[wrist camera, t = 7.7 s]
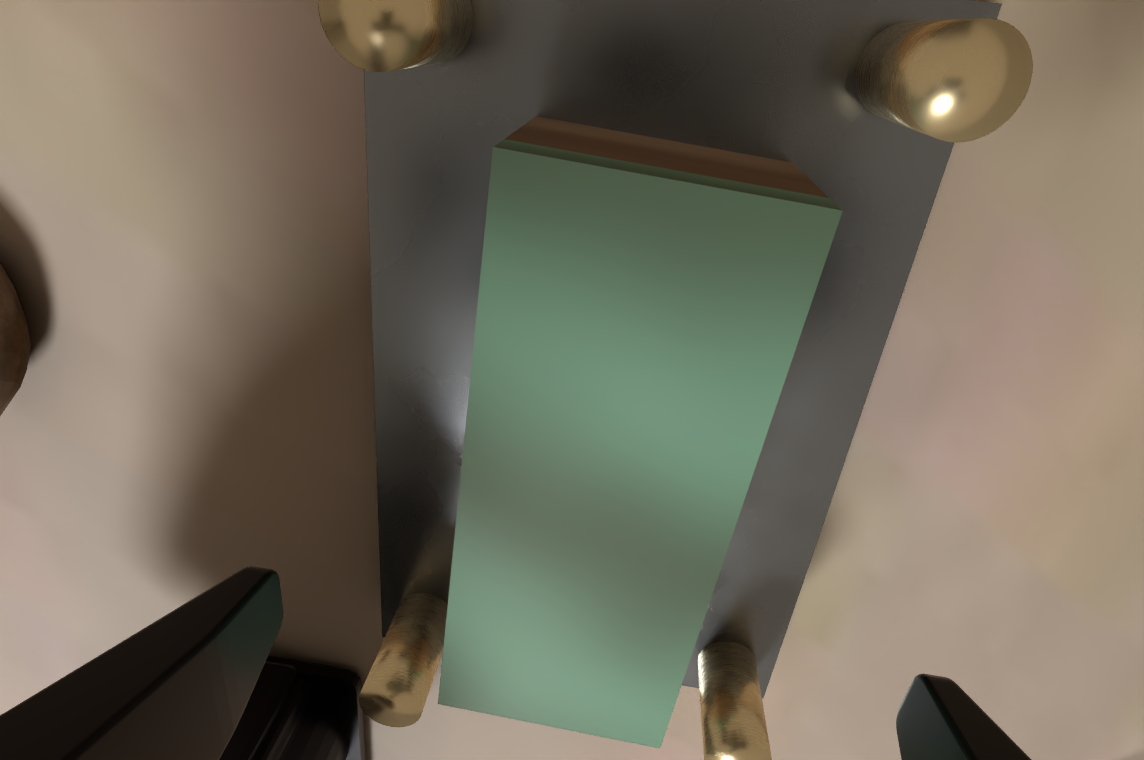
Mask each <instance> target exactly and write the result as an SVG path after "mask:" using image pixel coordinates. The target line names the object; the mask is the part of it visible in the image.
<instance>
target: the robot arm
mask: <svg viewBox="0 0 1144 760" xmlns="http://www.w3.org/2000/svg"><path fill="white" fill-rule="evenodd" d="M282 618H283V606H282V598H281V590H280V581H279V576H278V574H277V572H276V571H274V570H271V569H265V568H259V567H252V566H251V567H246V568H243V569H242V570H240V571H238V572H237V573H235V574H233V575H232V576H230V577H228V578H227V579H225V580H223V581H222V582H220V583H218V584H217V585H215V586H213V587H212V588H210V589H208V590H207V591H205V592H203V593H202V594H200V595H199V596H197V597H195V598H194V599H192V600H190V601H189V602H187V603H185V604H184V605H182V606H180V607H179V608H177V609H175V610H174V611H172V612H170V613H169V614H167V615H166V616H164V617H162V618H161V619H159V620H157V621H156V622H154V623H152V624H151V625H149V626H147V627H146V628H144V629H142V630H141V631H139V632H137V633H136V634H134V635H132V636H131V637H129V638H128V639H126V640H124V641H123V642H121V643H119V644H118V645H116V646H114V647H113V648H111V649H109V650H108V651H106V652H104V653H103V654H101V655H99V656H98V657H96V658H94V659H93V660H91V661H90V662H88V663H86V664H85V665H83V666H81V667H80V668H78V669H76V670H75V671H73V672H71V673H70V674H68V675H66V676H65V677H63V678H61V679H60V680H58V681H56V682H55V683H53V684H52V685H50V686H48V687H47V688H45V689H43V690H42V691H40V692H38V693H37V694H35V695H33V696H32V697H30V698H28V699H27V700H25V701H23V702H22V703H20V704H19V705H17V706H15V707H14V708H12V709H10V710H9V711H7V712H5V713H4V714H2V715H0V760H366V758H365V739H364V721H363V710H362V709H361V707H360V705H359V694H360V692H361V690H362V684H361V679H360V677H359V676H358V675H357V674H356V673H354V672H353V671H350V670H347V669H341V668H335V667H329V666H323V665H317V664H311V663H305V662H299V661H292V660H286V659H280V658H274V657H268V654H269V652H270V650H271V648H272V645H273V643H274V641H275V638H276V636H277V634H278V632H279V629H280V626H281V623H282ZM896 728H897V735H898V741H899V747H900V753H901V759H902V760H1031V759H1030V758H1029V757H1028V756H1027V755H1026V754H1025V753H1024V752H1023V751H1022V750H1021V749H1020V748H1019V747H1018V746H1017V745H1016V744H1015V743H1014V742H1013V741H1012V740H1011V739H1010V738H1009V736H1008V735H1007V734H1006V733H1005V732H1004V731H1003V730H1002V729H1001V728H1000V727H999V726H998V725H997V724H996V723H995V722H994V721H993V720H992V719H991V718H990V717H989V716H988V715H987V714H986V713H985V712H984V711H983V710H982V709H981V708H980V707H979V706H978V705H977V704H976V703H975V702H974V701H973V700H972V699H971V698H970V697H969V696H968V695H967V694H966V693H965V692H964V691H963V690H962V689H961V688H960V687H959V686H958V685H957V684H956V683H955V682H954V681H952V680H951V679H949V678H946V677H941V676H934V675H928V674H919V675H918V676H916V677H915V678H914V680H913V682H912V684H911V686H910V688H909V690H908V692H907V694H906V696H905V698H904V700H903V702H902V704H901V706H900V708H899V711H898V714H897V720H896Z"/></svg>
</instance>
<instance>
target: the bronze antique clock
mask: <svg viewBox="0 0 1144 760" xmlns="http://www.w3.org/2000/svg"><path fill="white" fill-rule="evenodd" d="M30 348H31V346H30V339H29V331H28V324H27V321H26V318H25V315H24V312H23V310H22V307H21V304H20V301H19V299H18V296H17V293H16V290H15V288H14V286H13V284H12V283H11V281H10V279H9V277H8V276H7V274H6V272H5V270H4V269H3V267H2V265H1V263H0V415H1V414H2V413H3V411H4V410H5V408H6V407H7V405H8V404H9V403H10V401H11V400H12V398H13V397H14V395H15V394H16V393H17V391H18V390H19V388H20V387H21V384H22V381H23V379H24V376H25V373H26V370H27V365H28V359H29V353H30Z"/></svg>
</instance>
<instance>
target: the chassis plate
mask: <svg viewBox="0 0 1144 760" xmlns="http://www.w3.org/2000/svg"><path fill="white" fill-rule="evenodd" d="M1001 5H1002V4H999V3H990V2H981V1H972V0H318V8H319V15H320V20H321V23H322V26H323V29H324V31H325V34H326V36H327V38H328V39H329V41H330V43H331V44H332V46H333V47H334V48H335V50H336V51H337V52H338V53H339V54H340V55H341V56H342V57H343V58H344V59H346V60H347V61H348V62H350V63H351V64H353V65H355V66H357V67H359V68H361V69H364V86H365V117H366V147H367V178H368V209H369V240H370V271H371V302H372V333H373V364H374V395H375V426H376V457H377V488H378V519H379V549H380V580H381V611H382V637H385V638H384V640H383V643H382V645H381V647H380V649H379V652H378V654H377V656H376V658H375V661H374V663H373V665H372V667H371V670H370V672H369V674H368V676H367V679H366V681H365V683H364V685H363V688H362V690H361V692H360V694H359V705H360V707H361V709H362V710H363V712H364V713H365V714H366V715H367V716H368V717H370V718H371V719H372V720H374V721H376V722H378V723H380V724H383V725H386V726H391V727H405V726H409V725H412V724H414V723H415V722H416V721H418V719H419V718H420V716H421V714H422V711H423V708H424V705H425V702H426V699H427V696H428V693H429V690H430V687H431V684H432V681H433V678H434V675H435V672H436V670H437V667H438V664H439V661H440V658H441V655H442V652H443V648H444V638H445V628H446V618H447V607H448V597H449V587H450V577H451V567H452V557H453V547H454V537H455V527H456V517H457V507H458V496H459V486H460V476H461V466H462V456H463V446H464V436H465V426H466V416H467V406H468V395H469V385H470V375H471V365H472V355H473V345H474V335H475V325H476V315H477V305H478V294H479V284H480V274H481V264H482V254H483V244H484V234H485V224H486V214H487V204H488V193H489V183H490V173H491V163H492V153H493V147H494V146H495V145H497V144H498V143H499V142H501V141H502V140H504V139H505V138H506V137H508V136H509V135H511V134H512V133H513V132H515V131H516V130H517V129H519V128H520V127H522V126H523V125H524V124H526V123H527V122H529V121H530V120H531V119H533V118H534V117H536V116H537V117H543V118H549V119H554V120H560V121H565V122H571V123H576V124H582V125H587V126H593V127H598V128H604V129H609V130H615V131H621V132H626V133H632V134H637V135H643V136H648V137H654V138H659V139H665V140H670V141H676V142H681V143H687V144H693V145H698V146H704V147H709V148H715V149H720V150H726V151H731V152H737V153H742V154H748V155H753V156H759V157H765V158H770V159H776V160H781V161H787V162H792V163H793V164H794V165H795V166H796V167H797V168H798V169H799V170H800V171H802V172H803V173H804V174H805V175H806V176H807V177H808V178H809V179H810V180H811V181H812V182H813V183H814V184H815V185H816V186H817V187H818V188H819V189H821V190H822V191H823V192H824V193H825V194H826V195H827V196H828V197H829V198H830V199H831V200H832V201H833V202H834V203H835V204H836V205H837V206H838V207H839V208H841V209H842V210H843V211H842V214H841V217H840V220H839V223H838V226H837V229H836V232H835V235H834V238H833V241H832V244H831V247H830V250H829V253H828V256H827V258H826V261H825V264H824V267H823V270H822V273H821V276H820V279H819V282H818V285H817V288H816V291H815V294H814V297H813V300H812V303H811V306H810V308H809V311H808V314H807V317H806V320H805V323H804V326H803V329H802V332H801V335H800V338H799V341H798V344H797V347H796V350H795V353H794V356H793V358H792V361H791V364H790V367H789V370H788V373H787V376H786V379H785V382H784V385H783V388H782V391H781V394H780V397H779V400H778V403H777V406H776V409H775V411H774V414H773V417H772V420H771V423H770V426H769V429H768V432H767V435H766V438H765V441H764V444H763V447H762V450H761V453H760V456H759V459H758V461H757V464H756V467H755V470H754V473H753V476H752V479H751V482H750V485H749V488H748V491H747V494H746V497H745V500H744V503H743V506H742V509H741V511H740V514H739V517H738V520H737V523H736V526H735V529H734V532H733V535H732V538H731V541H730V544H729V547H728V550H727V553H726V556H725V559H724V561H723V564H722V567H721V570H720V573H719V576H718V579H717V582H716V585H715V588H714V591H713V594H712V597H711V600H710V603H709V606H708V609H707V611H706V614H705V617H704V620H703V623H702V626H701V629H700V632H699V635H698V638H697V641H696V644H695V647H694V650H693V653H692V656H691V659H690V661H689V664H688V667H687V670H686V673H685V676H684V679H683V682H682V685H683V686H689V687H695V688H699V690H700V705H701V719H702V734H703V748H704V760H772V758H771V752H770V746H769V740H768V733H767V727H766V721H765V715H764V709H763V703H762V698H763V697H764V695H765V692H766V689H767V686H768V683H769V680H770V677H771V674H772V671H773V668H774V665H775V663H776V660H777V657H778V654H779V651H780V648H781V645H782V642H783V639H784V636H785V633H786V631H787V628H788V625H789V622H790V619H791V616H792V613H793V610H794V607H795V604H796V601H797V599H798V596H799V593H800V590H801V587H802V584H803V581H804V578H805V575H806V572H807V569H808V567H809V564H810V561H811V558H812V555H813V552H814V549H815V546H816V543H817V540H818V537H819V535H820V532H821V529H822V526H823V523H824V520H825V517H826V514H827V511H828V508H829V505H830V503H831V500H832V497H833V494H834V491H835V488H836V485H837V482H838V479H839V476H840V473H841V470H842V468H843V465H844V462H845V459H846V456H847V453H848V450H849V447H850V444H851V441H852V438H853V436H854V433H855V430H856V427H857V424H858V421H859V418H860V415H861V412H862V409H863V406H864V404H865V401H866V398H867V395H868V392H869V389H870V386H871V383H872V380H873V377H874V374H875V372H876V369H877V366H878V363H879V360H880V357H881V354H882V351H883V348H884V345H885V342H886V340H887V337H888V334H889V331H890V328H891V325H892V322H893V319H894V316H895V313H896V310H897V308H898V305H899V302H900V299H901V296H902V293H903V290H904V287H905V284H906V281H907V278H908V276H909V273H910V270H911V267H912V264H913V261H914V258H915V255H916V252H917V249H918V246H919V244H920V241H921V238H922V235H923V232H924V229H925V226H926V223H927V220H928V217H929V214H930V211H931V209H932V206H933V203H934V200H935V197H936V194H937V191H938V188H939V185H940V182H941V179H942V177H943V174H944V171H945V168H946V165H947V162H948V159H949V156H950V153H951V150H952V147H953V145H954V142H967V141H972V140H975V139H978V138H981V137H983V136H985V135H988V134H989V133H991V132H993V131H995V130H996V129H997V128H999V127H1000V126H1001V125H1003V124H1004V123H1005V122H1006V121H1007V120H1008V119H1009V118H1010V117H1011V116H1012V115H1013V114H1014V113H1015V112H1016V110H1017V109H1018V107H1019V106H1020V105H1021V103H1022V101H1023V99H1024V98H1025V96H1026V93H1027V91H1028V88H1029V85H1030V82H1031V77H1032V69H1033V62H1032V55H1031V50H1030V48H1029V45H1028V43H1027V41H1026V39H1025V38H1024V36H1023V35H1022V34H1021V33H1020V32H1019V31H1018V30H1017V29H1016V28H1015V27H1014V26H1012V25H1010V24H1008V23H1006V22H1004V21H1001V20H997V17H998V14H999V11H1000V8H1001Z"/></svg>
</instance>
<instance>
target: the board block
mask: <svg viewBox="0 0 1144 760" xmlns="http://www.w3.org/2000/svg"><path fill="white" fill-rule="evenodd" d="M842 211H843V210H842V209H841V208H839V207H838V206H837V205H836V204H835V203H834V202H833V201H832V200H831V199H830V198H829V197H828V196H827V195H826V194H825V193H824V192H823V191H822V190H821V189H819V188H818V187H817V186H816V185H815V184H814V183H813V182H812V181H811V180H810V179H809V178H808V177H807V176H806V175H805V174H804V173H803V172H802V171H800V170H799V169H798V168H797V167H796V166H795V165H794V164H793V163H792V162H787V161H781V160H776V159H770V158H765V157H759V156H753V155H748V154H742V153H737V152H731V151H726V150H720V149H715V148H709V147H704V146H698V145H693V144H687V143H681V142H676V141H670V140H665V139H659V138H654V137H648V136H643V135H637V134H632V133H626V132H621V131H615V130H609V129H604V128H598V127H593V126H587V125H582V124H576V123H571V122H565V121H560V120H554V119H549V118H543V117H537V116H536V117H534V118H533V119H531V120H530V121H529V122H527V123H526V124H524V125H523V126H522V127H520V128H519V129H517V130H516V131H515V132H513V133H512V134H511V135H509V136H508V137H506V138H505V139H504V140H502V141H501V142H499V143H498V144H497V145H495V146H494V147H493V153H492V163H491V173H490V183H489V193H488V204H487V214H486V224H485V234H484V244H483V254H482V264H481V274H480V284H479V294H478V305H477V315H476V325H475V335H474V345H473V355H472V365H471V375H470V385H469V395H468V406H467V416H466V426H465V436H464V446H463V456H462V466H461V476H460V486H459V496H458V507H457V517H456V527H455V537H454V547H453V557H452V567H451V577H450V587H449V597H448V607H447V618H446V628H445V638H444V648H443V658H442V668H441V678H440V688H439V698H438V704H441V705H446V706H451V707H456V708H461V709H466V710H471V711H476V712H481V713H486V714H491V715H496V716H501V717H506V718H511V719H516V720H521V721H526V722H531V723H536V724H541V725H546V726H551V727H556V728H561V729H566V730H571V731H576V732H580V733H585V734H590V735H595V736H600V737H605V738H610V739H615V740H620V741H625V742H630V743H635V744H640V745H645V746H650V747H655V748H660V747H661V744H662V741H663V738H664V735H665V732H666V729H667V726H668V723H669V720H670V717H671V714H672V711H673V709H674V706H675V703H676V700H677V697H678V694H679V691H680V688H681V685H682V682H683V679H684V676H685V673H686V670H687V667H688V664H689V661H690V659H691V656H692V653H693V650H694V647H695V644H696V641H697V638H698V635H699V632H700V629H701V626H702V623H703V620H704V617H705V614H706V611H707V609H708V606H709V603H710V600H711V597H712V594H713V591H714V588H715V585H716V582H717V579H718V576H719V573H720V570H721V567H722V564H723V561H724V559H725V556H726V553H727V550H728V547H729V544H730V541H731V538H732V535H733V532H734V529H735V526H736V523H737V520H738V517H739V514H740V511H741V509H742V506H743V503H744V500H745V497H746V494H747V491H748V488H749V485H750V482H751V479H752V476H753V473H754V470H755V467H756V464H757V461H758V459H759V456H760V453H761V450H762V447H763V444H764V441H765V438H766V435H767V432H768V429H769V426H770V423H771V420H772V417H773V414H774V411H775V409H776V406H777V403H778V400H779V397H780V394H781V391H782V388H783V385H784V382H785V379H786V376H787V373H788V370H789V367H790V364H791V361H792V358H793V356H794V353H795V350H796V347H797V344H798V341H799V338H800V335H801V332H802V329H803V326H804V323H805V320H806V317H807V314H808V311H809V308H810V306H811V303H812V300H813V297H814V294H815V291H816V288H817V285H818V282H819V279H820V276H821V273H822V270H823V267H824V264H825V261H826V258H827V256H828V253H829V250H830V247H831V244H832V241H833V238H834V235H835V232H836V229H837V226H838V223H839V220H840V217H841V214H842Z"/></svg>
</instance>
